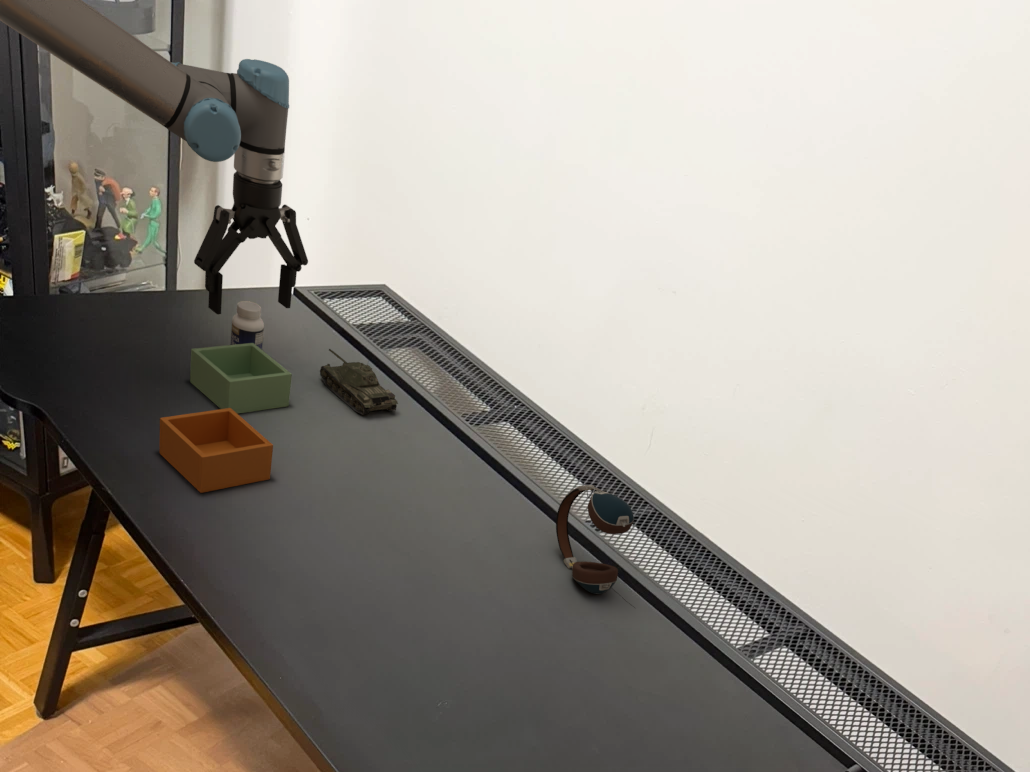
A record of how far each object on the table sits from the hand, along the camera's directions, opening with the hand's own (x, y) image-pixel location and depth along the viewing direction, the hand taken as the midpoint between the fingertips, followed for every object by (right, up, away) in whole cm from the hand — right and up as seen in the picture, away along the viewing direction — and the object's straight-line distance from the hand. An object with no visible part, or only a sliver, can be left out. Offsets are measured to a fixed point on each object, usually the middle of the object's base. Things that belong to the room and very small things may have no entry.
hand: (250, 308), depth 175 cm
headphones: (+57, -51, -20) cm, 79 cm away
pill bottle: (-3, -7, +6) cm, 10 cm away
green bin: (-1, -16, -4) cm, 17 cm away
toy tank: (+17, -13, +7) cm, 22 cm away
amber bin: (+1, -33, -22) cm, 40 cm away
